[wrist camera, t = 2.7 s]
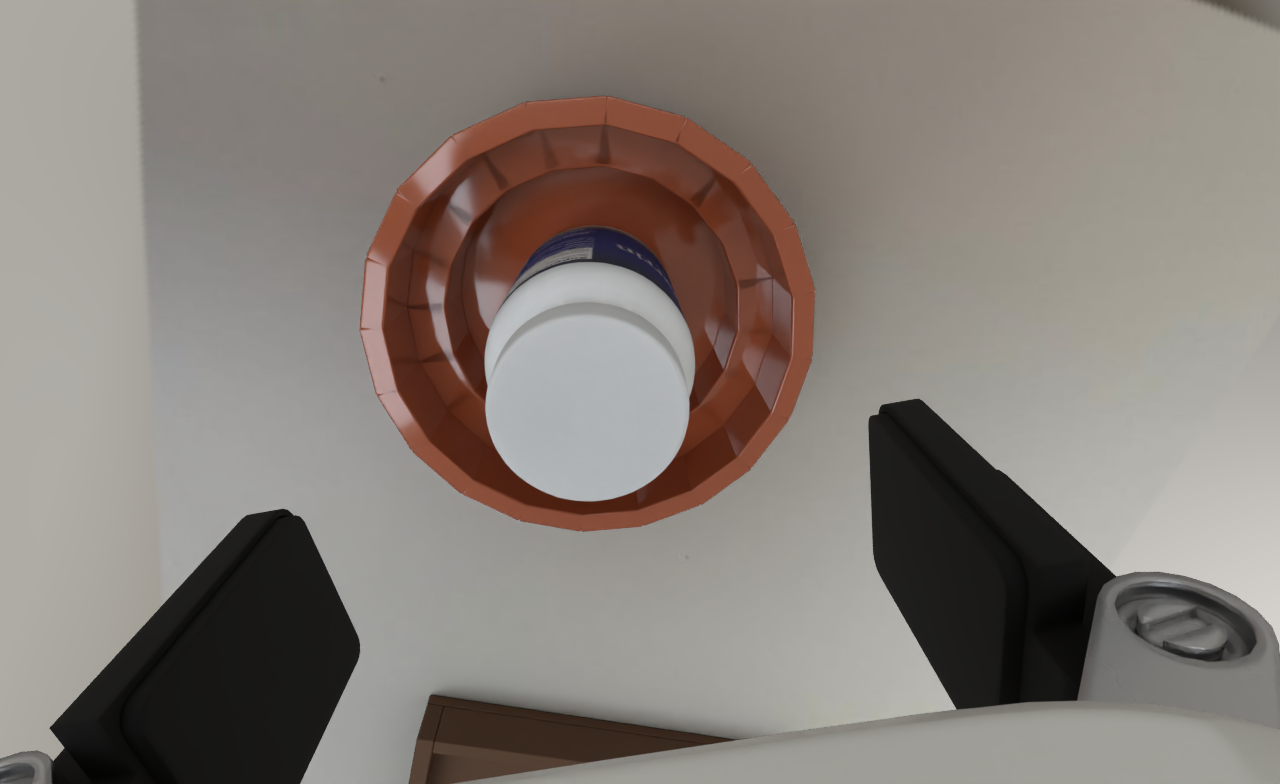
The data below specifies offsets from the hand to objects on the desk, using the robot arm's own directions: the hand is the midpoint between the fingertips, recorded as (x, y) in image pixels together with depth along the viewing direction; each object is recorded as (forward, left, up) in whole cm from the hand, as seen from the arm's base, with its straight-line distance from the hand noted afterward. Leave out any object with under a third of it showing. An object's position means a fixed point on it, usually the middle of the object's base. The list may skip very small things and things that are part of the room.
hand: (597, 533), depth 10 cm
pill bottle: (0, 0, -15) cm, 15 cm away
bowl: (0, 0, -15) cm, 15 cm away
